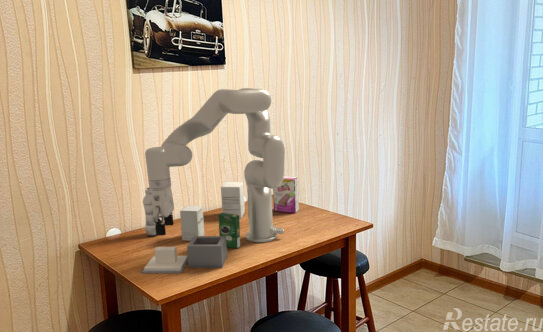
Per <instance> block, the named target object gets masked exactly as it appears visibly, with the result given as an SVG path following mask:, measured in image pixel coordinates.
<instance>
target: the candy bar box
mask: <svg viewBox="0 0 543 332" xmlns="http://www.w3.org/2000/svg"><path fill="white" fill-rule="evenodd" d="M272 192H273V193H272V199H273V211H274V212H280V213H290V214H297V213H298V212H299V210H300V201H299V200H300V199H299V198H300V197H299V196H300V195H299V193H300V189H299V176H290V175H289V176H285V175H284V177H283V181H282V183H281V185H280V186H279V187H277V188H274V189H272Z"/></svg>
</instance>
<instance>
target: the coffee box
mask: <svg viewBox="0 0 543 332" xmlns="http://www.w3.org/2000/svg"><path fill="white" fill-rule="evenodd" d="M240 225H241V224H240V218H239V215H235V214H227V213H222V212H221V213H218V230H219V231H218V232H219V235H218V236H226V243H227V248H231V249H237V250H238V249H240V247H241V231H240V228H241V227H240Z"/></svg>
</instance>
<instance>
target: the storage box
mask: <svg viewBox="0 0 543 332" xmlns="http://www.w3.org/2000/svg"><path fill="white" fill-rule="evenodd" d="M186 250H187V256H188V263H187V265H188V268H190V269H192V268H195V269H196V268H198V269H200V268H201V269H202V268H204V269H207V268H208V269H211V268H213V269H217V268H219V269H223V267H224V265H225V263H226V262H227V261H226V260H227V258H228V247H227V243H226V236H219V235H203V236H194V237H193V238H192V240H191V241H189V242H188V244H187V245H186Z"/></svg>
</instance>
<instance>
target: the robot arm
mask: <svg viewBox="0 0 543 332" xmlns="http://www.w3.org/2000/svg"><path fill="white" fill-rule="evenodd" d="M271 104H272V97H271V94H270V93H269V92H268V90H265V89H263V88H251V87H243V88H239V89H230V88H229V89H227V88H219V89H217V90H215V92H213V93H212V95H211V96H209V98H208V99H207V100H206V101H205V103H204V104H203V105H202V106H201V107H200V109H199V110H198V111H197V112H196V113H195V114H194V115H193V116H192V117H191V118H189V119H187V120H186V121H185V122H183V123H182V124H181V125H179V126H178V127H176V128H175V129H174V130H173V131H172V132H171V133H170V134H169V135H168V136H167V138H166V139H165V140H164V141H163V142H162V144H161V145H160V146H154V147H150V148H147V149H145V153H144V155H145V165H146V172H147V173H146V174H147V181H148V188H149V189H150V190H151V194H152V209H153V217H154V222H155V228H156V235H155V236H165V235H167V233H166V226H173V225H174V215H173V212H174V209H175V204H174V197H173V191H172V182H171V181H172V180H171V171H170V168H173V167H185V166H186V165H189V163H191V161H192V159H193V151H192V150H191V148H190V147H189V146H187V145H189V143H191V142H193V141H194V140H196V139H199V138H201V137H205V136H207V135H209V134H211V133H212V132H213V131H214V130H215V129H216V127H218V125H219V124H220V123H221V122H222V121H223V119H224V118H225V117H226V116H227V115H228V114H232V115H245V116H246V119H247V122H248V123H247V124H248V127H247V129H248V133H247V138H248V139H247V141H248V142H247V148H248V153H250V155H251V156H253V157H255V158H256V157H257V158H260V159H254V160H250V161H249V162H248V163H247V164H246V165H245V167H244V171H243V172H244V173H243V174H244V175H243V176H244V181H245V185H246V189H247V191H246V192H247V207H248V208H247V209H248V228H249V229H248V232H246V234H245V239H246V240H247V241H248V242H252V243H267V242H272V241H274V240H275V239H277V237H278V235H279V234H280V235H284V234H285V230H284V228H282V227H275V224H274V223H273V222H274V221H273V193H272V190H273V189H274V188H277V187H279V186H280V185H281V183H282V181H283V177H284V176H285V161H286V159H285V155H286V154H285V153H286V152H285V149H286V148H285V145H284V144H285V143H284V142H283V140H282V139H281V137H279V136H277V135H276V134H275V135H274V134H271V119H270V114H269V112H268V110H269V108H270V107H271ZM261 159H262V160H261ZM271 189H272V190H271Z"/></svg>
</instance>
